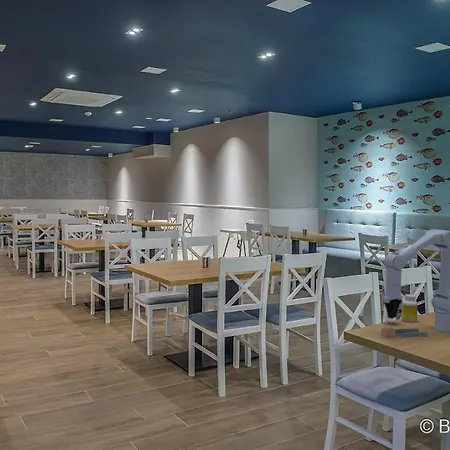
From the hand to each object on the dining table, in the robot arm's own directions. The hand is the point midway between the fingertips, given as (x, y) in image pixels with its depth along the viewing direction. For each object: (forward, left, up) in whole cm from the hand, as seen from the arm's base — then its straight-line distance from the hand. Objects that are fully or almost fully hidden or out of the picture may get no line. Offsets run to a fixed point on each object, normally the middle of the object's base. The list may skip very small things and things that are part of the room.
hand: (391, 317), depth 203 cm
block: (-1, 0, -6) cm, 7 cm away
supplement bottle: (-21, -20, -9) cm, 30 cm away
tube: (-9, 0, -8) cm, 12 cm away
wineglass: (-10, -16, -9) cm, 21 cm away
